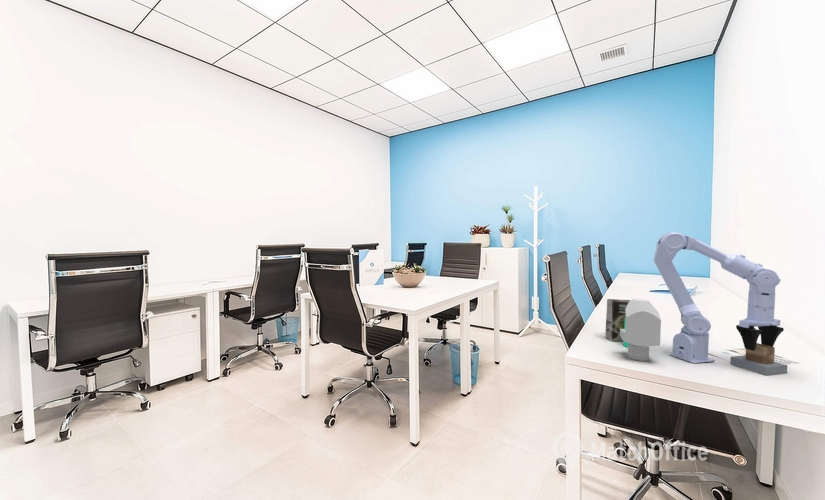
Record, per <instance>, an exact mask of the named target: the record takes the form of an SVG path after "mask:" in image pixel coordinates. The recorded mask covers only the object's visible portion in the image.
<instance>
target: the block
mask: <svg viewBox="0 0 825 500" xmlns="http://www.w3.org/2000/svg"><path fill="white" fill-rule="evenodd" d="M775 351H776V349H775V346H773V347H771V346H767V345H763V344H761V343H758V342H757V344H756V348H755V350H754V351H752V350H748V349H745V355H746V358H745V359H747V360H750V361H754V362H757V363H761V364H772V363H774V362H775Z"/></svg>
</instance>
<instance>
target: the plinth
mask: <svg viewBox="0 0 825 500" xmlns="http://www.w3.org/2000/svg"><path fill="white" fill-rule="evenodd" d="M745 358H746V354H744V355H734V356H733V355H731V356H730V360H729V361H730V363H729V364H730V365H731V364H732V365H731V366H734V365H735V367H738V368H741V367H742V368H741V369H744V368H746V369H745V370H747V369H748V371H750V370H751V371H750V372H753V373H757V374H758V375H759V374H760V375H763V376H773V375H783V374H788V364H784V363H781V362H778V361H774V363H772V364H761V363H757V362H754V361H750V360H747V359H745Z"/></svg>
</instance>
